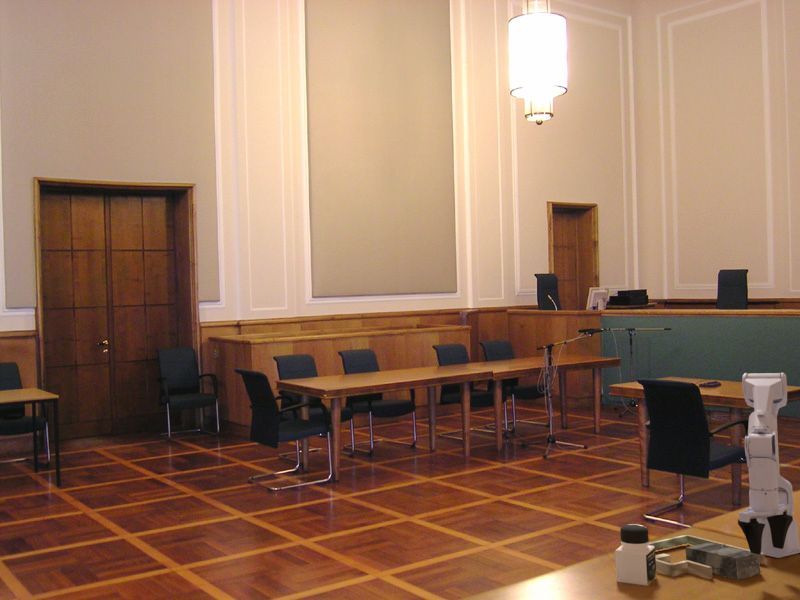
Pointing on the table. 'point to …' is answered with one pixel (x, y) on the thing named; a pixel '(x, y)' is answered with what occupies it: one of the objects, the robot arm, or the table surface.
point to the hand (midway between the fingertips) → (767, 550)
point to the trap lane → (686, 566)
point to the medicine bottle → (635, 556)
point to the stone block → (725, 560)
